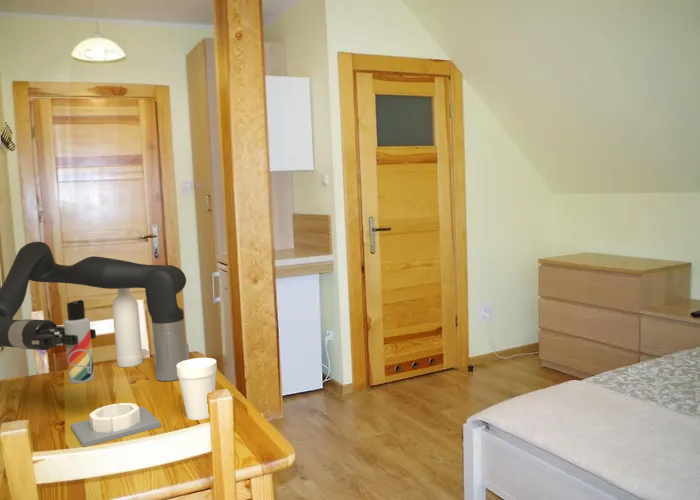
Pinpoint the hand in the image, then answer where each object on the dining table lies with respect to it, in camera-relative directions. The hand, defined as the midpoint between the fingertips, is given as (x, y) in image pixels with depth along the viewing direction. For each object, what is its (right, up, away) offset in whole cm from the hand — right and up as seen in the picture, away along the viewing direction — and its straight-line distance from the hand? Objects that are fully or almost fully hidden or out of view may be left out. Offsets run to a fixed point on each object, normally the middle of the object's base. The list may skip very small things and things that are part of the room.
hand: (85, 337), depth 146 cm
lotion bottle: (-2, -11, +2) cm, 11 cm away
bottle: (-7, -16, +50) cm, 53 cm away
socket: (+9, -21, -4) cm, 23 cm away
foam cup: (+28, -19, +1) cm, 34 cm away
